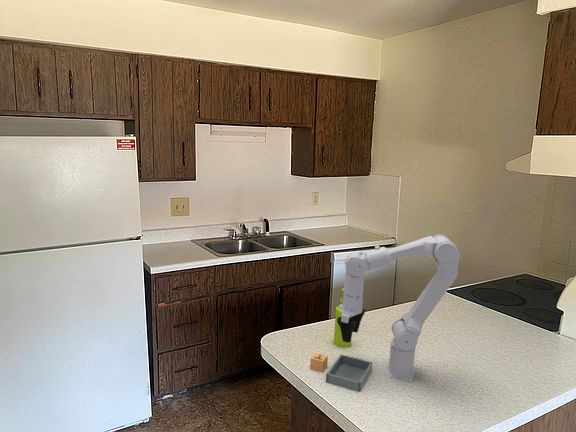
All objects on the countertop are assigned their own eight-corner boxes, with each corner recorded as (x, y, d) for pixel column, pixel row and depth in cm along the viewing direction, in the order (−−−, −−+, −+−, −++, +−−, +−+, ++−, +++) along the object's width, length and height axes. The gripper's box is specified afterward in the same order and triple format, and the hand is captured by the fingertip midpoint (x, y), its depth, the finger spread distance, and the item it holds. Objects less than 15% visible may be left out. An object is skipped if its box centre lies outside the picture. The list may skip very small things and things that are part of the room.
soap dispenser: (353, 350, 144) (357, 293, 141) (332, 347, 146) (336, 291, 142) (354, 342, 150) (358, 287, 147) (334, 339, 151) (338, 285, 148)
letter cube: (315, 364, 134) (315, 352, 134) (327, 367, 133) (327, 355, 132) (310, 370, 131) (310, 357, 130) (322, 373, 129) (323, 361, 128)
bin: (340, 363, 135) (341, 354, 135) (371, 371, 131) (372, 362, 131) (325, 383, 124) (326, 373, 123) (359, 393, 120) (360, 383, 119)
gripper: (347, 284, 137) (345, 324, 139) (332, 298, 124) (329, 342, 126) (369, 288, 134) (366, 329, 136) (356, 303, 121) (352, 348, 123)
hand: (350, 336), depth 131 cm, fingers open, 7 cm apart
